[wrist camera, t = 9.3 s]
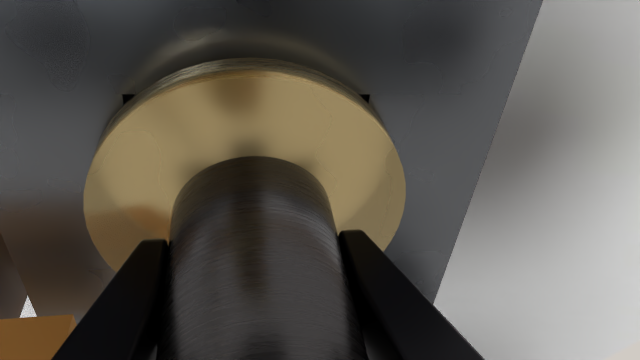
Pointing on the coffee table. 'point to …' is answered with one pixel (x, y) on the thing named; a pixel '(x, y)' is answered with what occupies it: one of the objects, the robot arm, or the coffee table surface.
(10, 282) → the rack block
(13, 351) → the cardboard box
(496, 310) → the coffee table surface
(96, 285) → the socket block
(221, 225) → the dark flanged cylinder
